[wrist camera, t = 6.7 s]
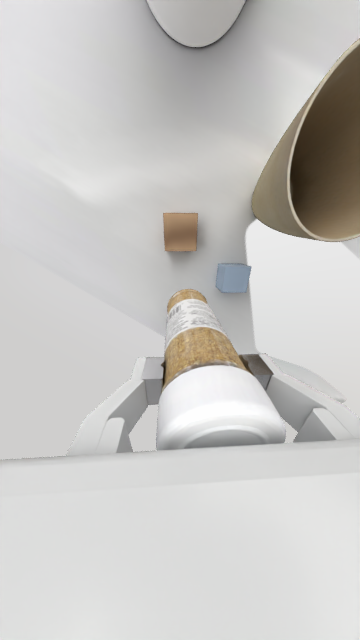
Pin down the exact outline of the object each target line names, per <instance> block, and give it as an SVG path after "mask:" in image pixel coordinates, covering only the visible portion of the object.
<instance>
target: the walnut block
mask: <svg viewBox="0 0 360 640" xmlns="http://www.w3.org/2000/svg"><path fill="white" fill-rule="evenodd" d="M163 217H164V241H165V251H196V245H197V221H198V213H163Z"/></svg>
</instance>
